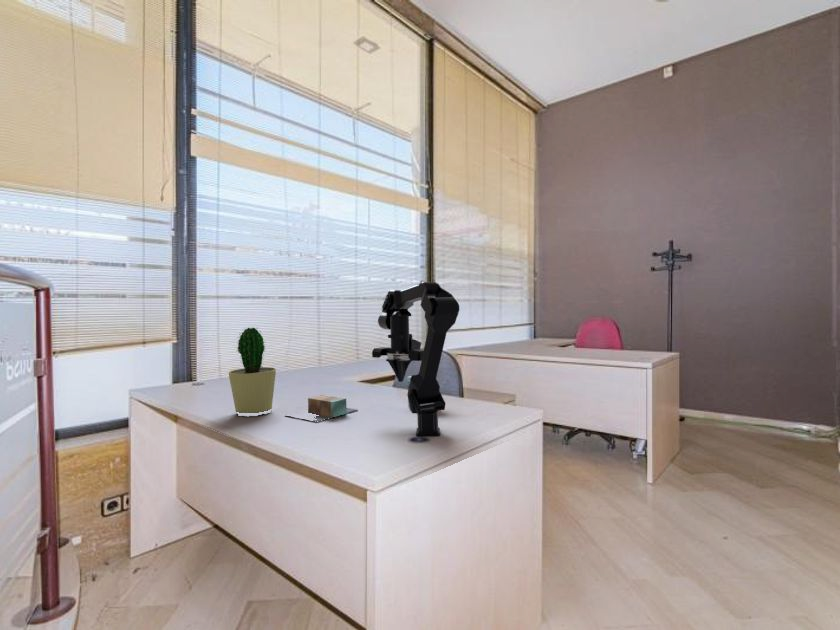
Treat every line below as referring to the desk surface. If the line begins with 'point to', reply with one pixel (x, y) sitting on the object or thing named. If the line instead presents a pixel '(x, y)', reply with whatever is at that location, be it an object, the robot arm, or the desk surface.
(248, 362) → the potted cactus
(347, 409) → the grey thin slab
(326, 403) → the walnut block
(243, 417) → the desk surface
